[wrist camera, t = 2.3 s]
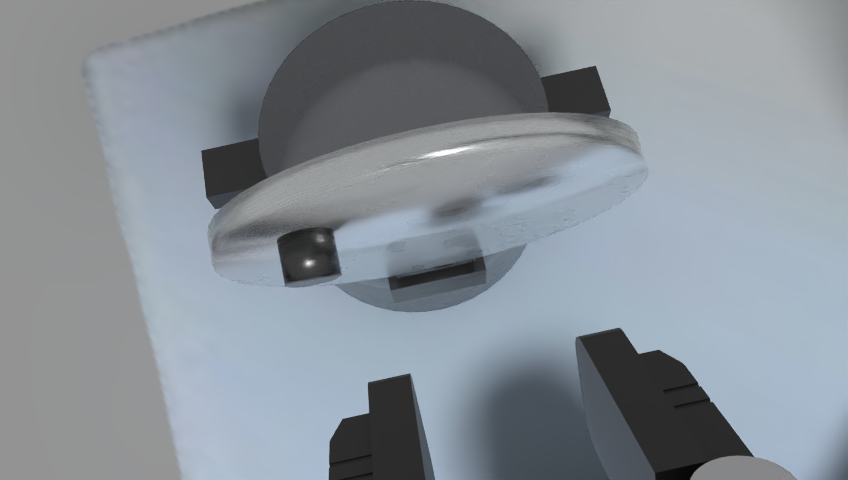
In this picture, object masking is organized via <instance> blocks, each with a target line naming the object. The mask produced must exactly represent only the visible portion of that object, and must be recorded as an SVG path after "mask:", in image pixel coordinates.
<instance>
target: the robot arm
mask: <svg viewBox="0 0 848 480" xmlns="http://www.w3.org/2000/svg"><path fill="white" fill-rule="evenodd" d="M576 354H577V361H578V368H579V376H580V383H581V390H582V397H583V405H584V412H585V418H586V423H587V427H588V431H589V434H590V438H591V441H592V444H593V447H594V449H595V452H596V454H597V456H598V458H599V460H600V462H601V464H602V466H603V469H604V471H605V473H606V475H607V477H608V479H609V480H797V479H796V478H795V477H794V476H793V475H792V474H791V473H790V472H788V471H787V470H786V469H784V468H783V467H781V466H779V465H777V464H775V463H773V462H770V461H768V460H764V459H761V458H756V457H754V456H753V455H752V453H751V452H750V451H749V449H748V448H747V447H746V445H745V444H744V443H743V442H742V440H741V439H740V438H739V436H738V435H737V434H736V432H735V431H734V430H733V428H732V427H731V426H730V424H729V423H728V422H727V420H726V419H725V418H724V416H723V415H722V414H721V412H720V411H719V410H718V409H717V407H716V406H715V405H714V403H713V402H710V398H709V397H708V395H707V394H706V393H705V391H704V390H703V389H702V387H701V386H700V387H699V385H698V382H697V381H696V379H695V378H694V377H693V376H692V374H691V373H690V372H689V370H688V369H687V368H686V366H685V365H684V364H683V363H682V362H680V361H678V360H676V359H674V358H672V357H671V356H669V355H667V354H665V353H663V352H662V351H660V350H656V351H651V352H646V353H642V354H638V353H637V351H636V350H635V348H634V347H633V345H632V344H631V342H630V341H629V339H628V338H627V337H626V335H625V334H624V332H623V331H622V329H620V328H616V329H611V330H607V331H602V332H598V333H593V334H588V335H584V336H579V337H576ZM368 396H369V413H368V414H363V415H359V416H354V417H350V418H345V419H342V421H341V423H340V425H339V426H338V428H337V430H336V431H335V433H334V435H333V437H332V438H331V440H330V453H329V465H330V468H329V480H435V477H434V472H433V467H432V462H431V457H430V453H429V448H428V444H427V440H426V436H425V431H424V427H423V423H422V419H421V414H420V410H419V406H418V402H417V397H416V393H415V389H414V385H413V381H412V377H411V374H405V375H400V376H396V377H391V378H387V379H382V380H378V381H373V382H369V383H368Z"/></svg>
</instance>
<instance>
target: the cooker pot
mask: <svg viewBox="0 0 848 480" xmlns="http://www.w3.org/2000/svg"><path fill="white" fill-rule="evenodd" d="M610 111H611V109H610V106H609V103H608V100H607V97H606V94H605V92H604V89H603V86H602V83H601V80H600V77H599V74H598V71H597V68H596V66H593V67H588V68H583V69H579V70H574V71H570V72H565V73H560V74H556V75H551V76H546V77H542V78H540V77H539V74H538V72H537V71H536V69H535V67H534V65H533V64H532V62H531V60H530V59H529V57H528V56H527V55H526V54H525V52H524V51H523V50H522V48H521V47H520V46H519V45H518V44H517V43H516V42H515V41H514V40H513V39H512V38H511V37H510V36H509V35H508V34H506V33H505V32H504V31H502V30H501V29H500V28H498V27H497V26H496V25H494V24H493V23H491V22H489V21H487V20H486V19H484V18H482V17H480V16H478V15H476V14H473V13H471V12H469V11H466V10H464V9H461V8H457V7H454V6H450V5H447V4H441V3H435V2H429V1H393V2H387V3H381V4H375V5H371V6H368V7H364V8H360V9H357V10H355V11H352V12H350V13H347V14H344V15H342V16H340V17H338V18H336V19H334V20H332V21H330V22H328V23H327V24H325V25H324V26H322V27H321V28H319V29H318V30H316V31H315V32H313V33H312V34H311V35H309V36H308V37H307V38H306V39H305V40H304V41H302V42H301V43H300V44H299V45H298V46H297V47H296V48H295V49H294V50H293V51H292V52H291V54H290V55H289V56H288V57H287V58H286V59H285V61H284V62H283V64H282V65H281V66H280V68H279V69H278V71H277V72H276V74H275V76H274V78H273V80H272V82H271V83H270V85H269V88H268V90H267V93H266V96H265V98H264V101H263V105H262V109H261V114H260V120H259V132H258V136H259V138H258V139H254V140H249V141H244V142H240V143H235V144H231V145H226V146H221V147H217V148H212V149H207V150H203V151H201V152H202V161H203V170H204V179H205V188H206V197H207V199H208V200H209V201H210V203H211V204H212V205H213V207H214V208H215V209H219V208H222V207H223V206H224V205H225V204H227V203H228V202H229V201H231V200H232V199H233V198H235V197H236V196H237V195H239V194H240V193H242V192H244V191H245V190H247V189H249V188H250V187H252V186H254V185H255V184H257V183H259V182H261V181H263V180H265V179H267V178H269V177H271V176H273V175H275V174H277V173H279V172H282V171H284V170H286V169H289V168H291V167H293V166H296V165H298V164H301V163H303V162H306V161H308V160H311V159H313V158H316V157H319V156H322V155H325V154H328V153H331V152H334V151H337V150H340V149H342V148H345V147H349V146H352V145H356V144H359V143H363V142H366V141H370V140H373V139H377V138H380V137H384V136H388V135H392V134H397V133H401V132H405V131H409V130H413V129H417V128H423V127H428V126H433V125H438V124H443V123H449V122H454V121H461V120H468V119H475V118H482V117H489V116H499V115H509V114H520V113H544V112H561V113H582V114H590V115H597V116H603V117H607V118H609V115H610ZM526 245H527V243H526V244H523V245H520V246H517V247H514V248H510V249H507V250H504V251H501V252H497V253H494V254H490V255H486V256H483V257H479V258H475V259H476V262H471V263H467V264H462V265H457V266H453V267H448V268H444V269H439V270H435V271H430V272H425V273H421V274H416V275H412V276H407V277H403V278H398V279H397V276H392V277H386V278H379V279H373V280H366V281H358V282H351V283H341V284H335V285H336V286H337V287H339V288H340V289H341V290H343V291H344V292H346V293H347V294H349V295H351V296H353V297H354V298H356V299H358V300H360V301H362V302H365V303H368V304H370V305H373V306H376V307H379V308H384V309H388V310H393V311H403V312H426V311H432V310H439V309H444V308H447V307H451V306H454V305H458V304H460V303H462V302H465V301H467V300H469V299H472V298H474V297H475V296H477V295H479V294H480V293H482V292H484V291H486V290H487V289H488V288H490V287H491V286H492V285H494V284H495V283H496V282H497V281H499V280H500V279H501V278H502V277H503V276H504V275H505V274H506V273H507V272H508V271H509V270H510V269H511V268H512V266H513V265H514V264H515V262H516V261H517V260H518V258H519V257H520V255H521V254H522V252H523V250H524V248H525V246H526Z"/></svg>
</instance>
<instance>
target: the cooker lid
mask: <svg viewBox="0 0 848 480" xmlns="http://www.w3.org/2000/svg"><path fill="white" fill-rule="evenodd" d="M647 173H648V169H647V165H646V162H645V158H644V155H643V151H642V148H641V144H640V141H639V138H638V135H637V133H636V132H635V131H634V130H633V129H632V128H631V127H630V126H628V125H626V124H624V123H622V122H620V121H618V120H614V119H611V118H607V117H603V116H597V115H590V114H582V113H561V112H544V113H520V114H509V115H499V116H489V117H482V118H475V119H468V120H461V121H454V122H449V123H443V124H438V125H433V126H428V127H423V128H417V129H413V130H409V131H405V132H401V133H397V134H392V135H388V136H384V137H380V138H377V139H373V140H370V141H366V142H363V143H359V144H356V145H352V146H349V147H345V148H342V149H340V150H337V151H334V152H331V153H328V154H325V155H322V156H319V157H316V158H313V159H311V160H308V161H306V162H303V163H301V164H298V165H296V166H293V167H291V168H289V169H286V170H284V171H282V172H279V173H277V174H275V175H273V176H271V177H269V178H267V179H265V180H263V181H261V182H259V183H257V184H255V185H254V186H252V187H250V188H249V189H247V190H245V191H244V192H242V193H240V194H239V195H237V196H236V197H235V198H233V199H232V200H231V201H229V202H228V203H227V204H225V205H224V206H223V207H222V208H221V209H220V210H219V211H218V212H217V213H216V214H215V215H214V217H213V218H212V220H211V222H210V224H209V225H208V233H207V234H208V241H209V247H210V253H211V259H212V265H213V267H214V270H215V272H217V273H218V274H219V275H220V276H221V277H224V278H226V279H228V280H231V281H235V282H239V283H243V284H249V285H257V286H272V287H306V286H318V285H331V284H341V283H351V282H358V281H366V280H373V279H379V278H386V277H392V276H397V279H398V278H403V277H407V276H412V275H416V274H421V273H425V272H430V271H435V270H439V269H444V268H448V267H453V266H457V265H462V264H467V263H471V262H476V259H475V258H479V257H483V256H486V255H490V254H494V253H497V252H501V251H504V250H507V249H510V248H514V247H517V246H520V245H523V244H526V243H529V242H532V241H535V240H538V239H541V238H544V237H547V236H549V235H552V234H555V233H557V232H560V231H563V230H565V229H567V228H570V227H572V226H575V225H577V224H580V223H582V222H584V221H586V220H588V219H590V218H593V217H595V216H597V215H599V214H601V213H603V212H604V211H606V210H608V209H610V208H612V207H613V206H615V205H617V204H618V203H620V202H622V201H623V200H625V199H626V198H627V197H629V196H630V195H631V194H633V193H634V192H635V191H636V190H637V189H638V188H639V187H640V186H641V185H642V184H643V182H644V181H645V179H646V178H647Z"/></svg>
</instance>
